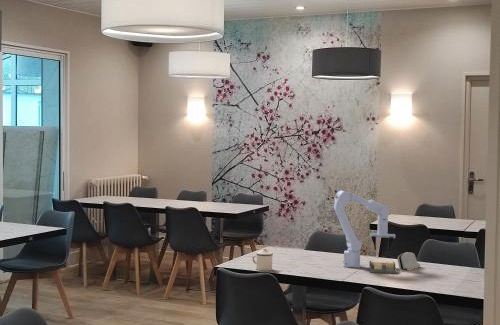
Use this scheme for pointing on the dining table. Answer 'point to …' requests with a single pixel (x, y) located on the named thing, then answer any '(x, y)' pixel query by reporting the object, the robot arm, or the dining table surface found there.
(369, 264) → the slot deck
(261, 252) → the teacup with lid
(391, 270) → the tray
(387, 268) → the tan wooden cube
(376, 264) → the wooden cube
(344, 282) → the dining table surface
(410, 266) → the light grey rounded slab
